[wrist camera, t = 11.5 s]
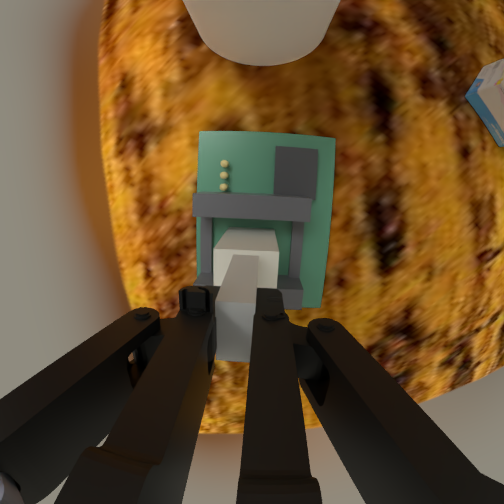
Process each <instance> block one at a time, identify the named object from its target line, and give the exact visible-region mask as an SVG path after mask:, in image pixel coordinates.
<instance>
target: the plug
mask: <svg viewBox="0 0 504 504" xmlns="http://www.w3.org/2000/svg"><path fill="white" fill-rule="evenodd" d="M233 254H234V255H253V256H259V261H258V280H257V288H275V289H277V277H278V263H279V248H278V244H277V239H276V235H275V230H274V229H266V228H243V227H229V228H228V229H227V230H226V232H225V233H224V235H223V236H222V237H221V239H220V240H219V242H218V243H217V244H216V246H215V247H214V249H213V275H214V286H221V284H222V282H223V279H224V277H225V274H226V272H227V269H228V267H229V264H230V262H231V259H232V257H233Z"/></svg>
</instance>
